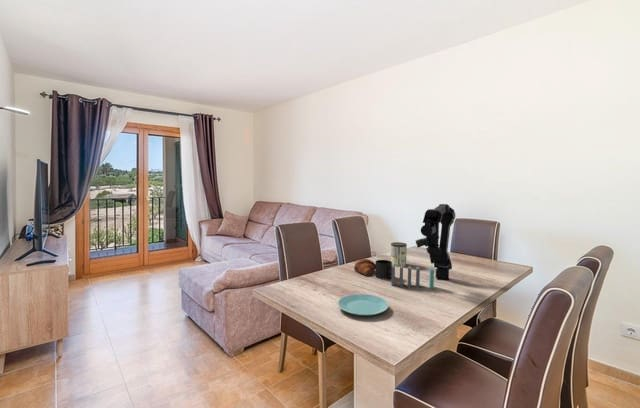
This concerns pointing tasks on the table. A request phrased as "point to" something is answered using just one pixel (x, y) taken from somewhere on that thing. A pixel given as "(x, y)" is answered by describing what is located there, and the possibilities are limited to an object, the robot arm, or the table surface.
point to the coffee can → (398, 253)
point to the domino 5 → (431, 278)
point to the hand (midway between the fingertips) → (432, 263)
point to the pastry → (365, 267)
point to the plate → (363, 304)
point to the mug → (383, 269)
